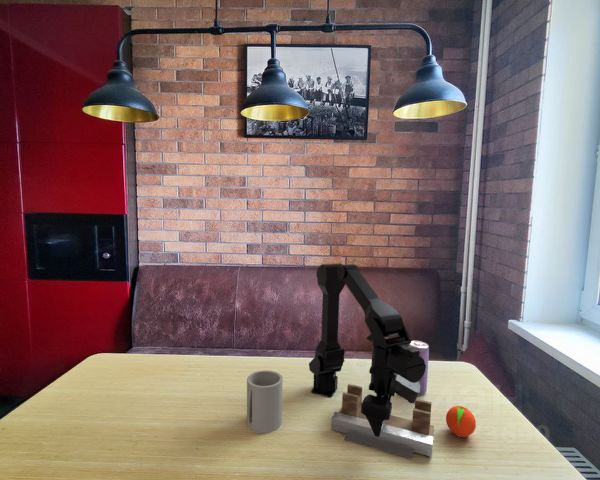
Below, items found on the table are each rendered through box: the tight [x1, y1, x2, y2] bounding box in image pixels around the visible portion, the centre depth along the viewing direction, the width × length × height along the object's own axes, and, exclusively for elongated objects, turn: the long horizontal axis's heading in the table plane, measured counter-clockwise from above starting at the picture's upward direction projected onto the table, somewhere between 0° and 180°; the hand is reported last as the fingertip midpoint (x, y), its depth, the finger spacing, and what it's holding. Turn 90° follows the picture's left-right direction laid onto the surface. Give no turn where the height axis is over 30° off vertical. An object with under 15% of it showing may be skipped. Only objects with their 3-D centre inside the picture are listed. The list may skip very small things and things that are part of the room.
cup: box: [246, 369, 284, 434], centre depth 93 cm, size 9×9×12 cm
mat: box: [343, 433, 414, 460], centre depth 87 cm, size 16×7×1 cm, turn 67°
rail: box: [330, 411, 434, 458], centre depth 87 cm, size 24×3×3 cm, turn 67°
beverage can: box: [408, 340, 430, 396], centre depth 110 cm, size 6×6×15 cm
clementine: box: [445, 405, 477, 438], centre depth 90 cm, size 8×7×7 cm
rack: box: [338, 383, 435, 438], centre depth 94 cm, size 24×6×7 cm, turn 67°
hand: (380, 425), depth 87 cm, fingers open, 9 cm apart
